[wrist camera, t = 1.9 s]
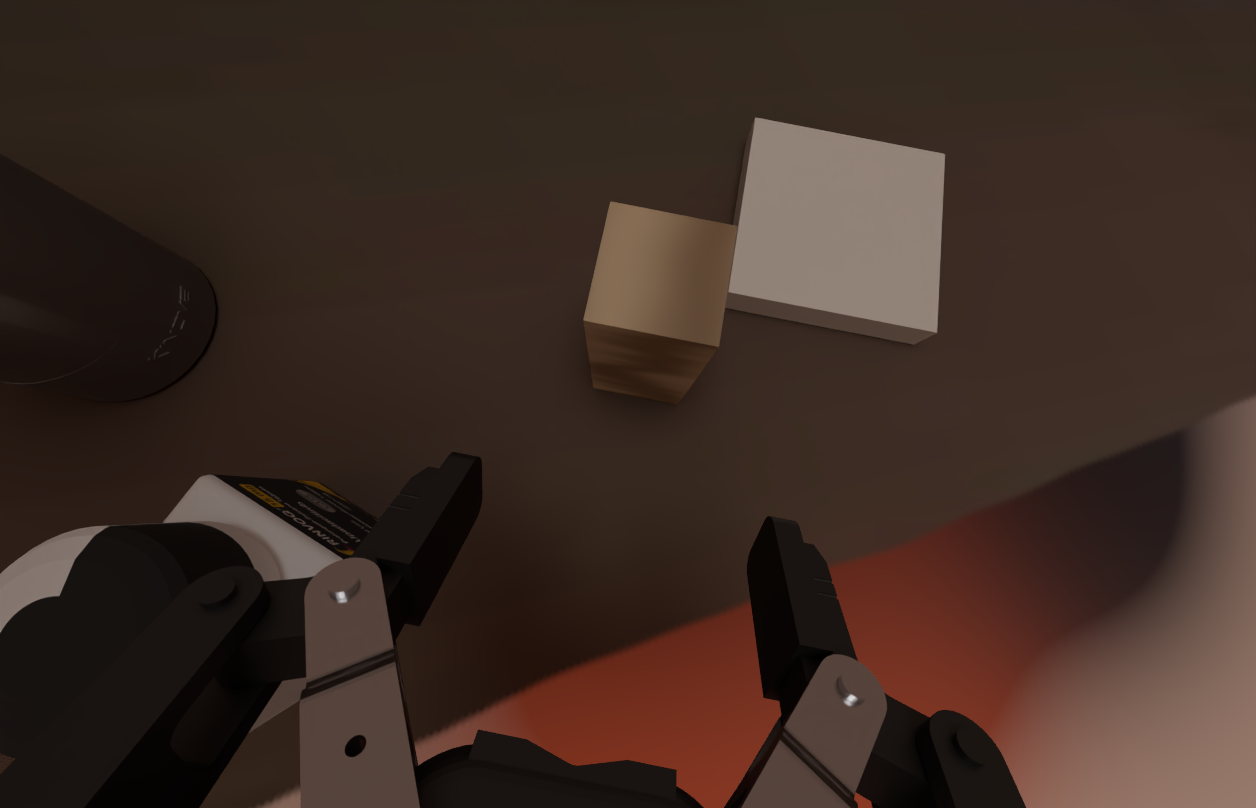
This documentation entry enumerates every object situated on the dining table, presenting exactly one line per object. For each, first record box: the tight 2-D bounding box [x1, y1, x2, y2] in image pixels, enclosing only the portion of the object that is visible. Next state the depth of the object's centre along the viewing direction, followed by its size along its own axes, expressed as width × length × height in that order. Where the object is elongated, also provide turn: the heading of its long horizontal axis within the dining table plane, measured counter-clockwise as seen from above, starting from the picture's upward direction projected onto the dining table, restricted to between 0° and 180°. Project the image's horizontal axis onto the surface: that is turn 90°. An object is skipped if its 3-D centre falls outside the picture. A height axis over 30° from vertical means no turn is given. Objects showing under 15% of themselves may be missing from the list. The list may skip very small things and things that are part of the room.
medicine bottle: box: [0, 475, 378, 759], centre depth 18 cm, size 7×7×12 cm
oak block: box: [583, 201, 738, 405], centre depth 22 cm, size 5×5×10 cm
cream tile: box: [725, 118, 945, 345], centre depth 28 cm, size 12×12×2 cm
